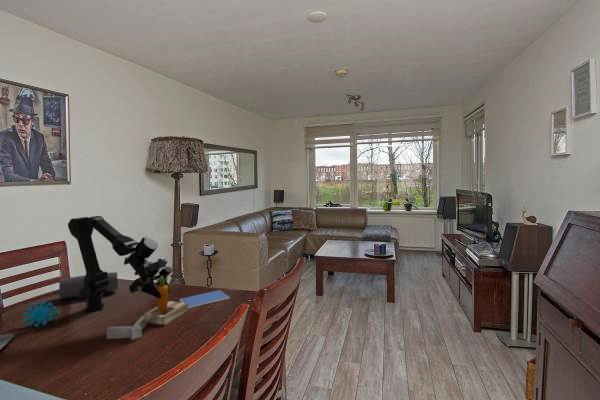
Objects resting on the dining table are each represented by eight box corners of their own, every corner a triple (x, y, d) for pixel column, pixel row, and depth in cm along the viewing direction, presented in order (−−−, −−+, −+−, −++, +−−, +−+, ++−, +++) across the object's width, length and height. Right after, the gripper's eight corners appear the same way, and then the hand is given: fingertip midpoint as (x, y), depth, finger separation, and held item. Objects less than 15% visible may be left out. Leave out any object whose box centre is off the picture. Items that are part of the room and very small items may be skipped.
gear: (18, 326, 116) (27, 300, 123) (21, 333, 120) (30, 307, 127) (55, 324, 121) (62, 299, 127) (57, 331, 125) (64, 306, 131)
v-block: (105, 337, 111) (105, 328, 111) (144, 324, 122) (144, 315, 121) (116, 346, 106) (115, 335, 105) (156, 331, 116) (155, 321, 116)
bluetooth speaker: (117, 288, 162) (117, 269, 161) (118, 294, 154) (117, 273, 153) (62, 297, 150) (61, 276, 150) (59, 303, 142) (58, 281, 142)
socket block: (143, 321, 124) (143, 314, 123) (167, 307, 137) (167, 300, 137) (165, 325, 121) (164, 317, 121) (187, 310, 134) (187, 303, 134)
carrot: (158, 311, 129) (157, 274, 128) (171, 311, 130) (170, 274, 129) (153, 316, 124) (152, 278, 123) (167, 316, 125) (166, 278, 124)
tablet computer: (187, 310, 136) (187, 307, 136) (178, 301, 146) (178, 298, 146) (230, 300, 147) (230, 297, 147) (219, 292, 157) (219, 289, 157)
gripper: (134, 258, 117) (160, 290, 115) (168, 247, 135) (191, 275, 133) (117, 277, 120) (142, 309, 118) (153, 264, 138) (175, 292, 136)
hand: (165, 295), depth 126 cm, fingers closed on carrot, 5 cm apart
